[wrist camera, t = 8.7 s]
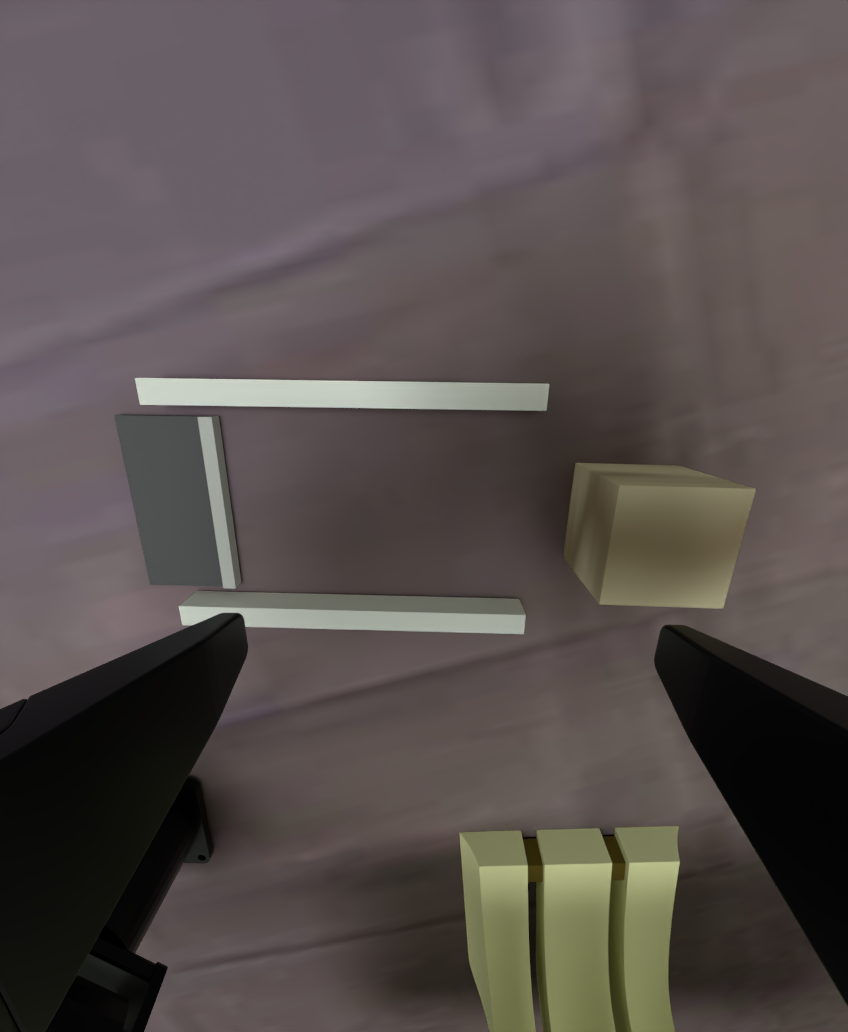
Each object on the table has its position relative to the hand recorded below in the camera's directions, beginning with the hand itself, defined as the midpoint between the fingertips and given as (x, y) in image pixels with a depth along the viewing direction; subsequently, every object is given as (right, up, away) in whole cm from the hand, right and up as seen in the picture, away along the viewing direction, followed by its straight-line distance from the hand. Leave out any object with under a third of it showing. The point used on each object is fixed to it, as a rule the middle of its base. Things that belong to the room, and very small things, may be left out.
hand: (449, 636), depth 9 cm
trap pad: (-12, +3, +10) cm, 16 cm away
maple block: (+8, +3, +10) cm, 13 cm away
